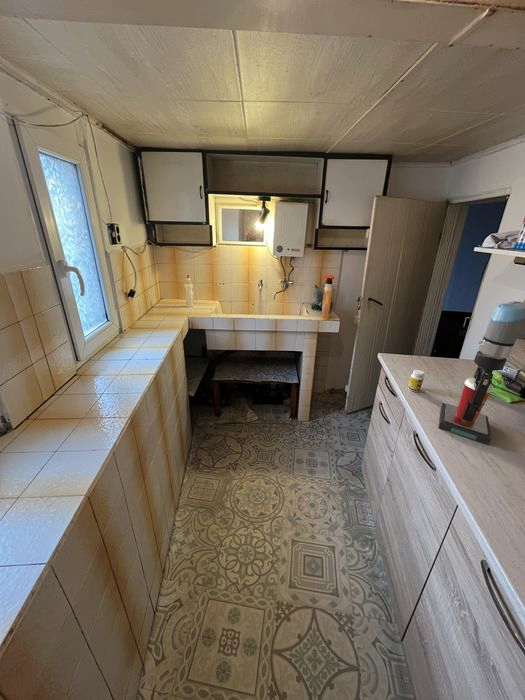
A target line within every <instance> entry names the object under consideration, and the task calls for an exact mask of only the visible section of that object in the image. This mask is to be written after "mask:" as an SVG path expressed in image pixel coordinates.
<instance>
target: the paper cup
mask: <svg viewBox="0 0 525 700" xmlns="http://www.w3.org/2000/svg"><path fill="white" fill-rule="evenodd" d="M475 380H476V379H475V378H473V377H468V378H467V379H466V380H465V381H464V387H463V390H462V393H461V396H460V400H459V402H458V406H457V407H458V409H457V412H456V416H457V417H458V418H459V419H461V420H463V419H462V417H463V415H464V412H465V410H466V408H467V405H468V404H467V401H468V402H470V400H471V397H472V395H473V392H474V390H475V388H476V387H475V386H476V384H475ZM478 382H479V381H478ZM493 391H494V387H493V384H492V383H491V384H490V386H489V388H488V390H487V392H486V395H485V397H484V400H483V402H482V404H481V407H480V408H478V409H477V411H476V414H475V416H474V418H473V421H472V422H475V420H476V418H477V417H478V415H479V413H480V414H481V411H482V409H483V408H484V406H485V404H486V402H487V400H488V398H489V397H490V394H491V393H493ZM463 421H465V422H469V421H466V420H463ZM472 422H469V423H472Z"/></svg>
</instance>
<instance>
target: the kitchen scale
mask: <svg viewBox="0 0 525 700" xmlns="http://www.w3.org/2000/svg"><path fill="white" fill-rule="evenodd" d="M457 409H458V406H457V405H454V404H451V403H447V402H446V403H445V402H442V403H441V407H440V411H439V419H438V426H437V427H438V429H440V430H442V431H445V432H448V433H452V434H455V435H457V436H460V437H463V438H466V439H469V440H472V441H475V442H478V443H480V444H483V445H486V446H489V445H490V443H491V441H492V437H491V436H492V435H491V429H490V421H489V416H488V415H486V414H484V413H481V412H480V413H479V415H478V417H477V418H476V420H475V422H472V423H469V422H465V421H463V420H461V419H459V418H458V417H457V416H456V412H457Z"/></svg>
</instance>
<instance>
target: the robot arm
mask: <svg viewBox="0 0 525 700" xmlns="http://www.w3.org/2000/svg"><path fill="white" fill-rule="evenodd" d="M517 340H524V341H525V300H524V301H520V300H519V301H516V300H513V301H512V300H511V301H508V302H506V303H499V304H498V305H497V306H496V307H495V308H494V310H493V312H492V314H491V316H490V317H489V321H488V325H487V326H486V330H485V332H484V335H483V337H482V340H479V341H478V344H479V347H478V351H477V352H476V354H475V356H474V359H473V362H474V364H475V365H476V366H477V368H476V370H475V371H476V373H475V372H474V373H475V375H474V374H473V376H472V378H475V379H476V380H475V384H476V386H475V387H476V388H475V390H474V392H473V395H472V397H471V400H470V402H468V401H467V404H468V405H467V408H466V410H465V412H464V415H463V417H462V419H463V420H466V421H469V422H472V421H473V418H474V416H475V414H476V411H477V409H478V408H480V407H481V404H482V402H483V400H484V397H485V395H486V392H487V390H488V388H489V386H490V384H492V383H493V381H492V379H493V377H494V373H493V372H494V371H502V370H503V369H504V367H505V365H506V363H507V362H508V358H510V355H511V353H512V351H513V348H514V346H515V343H516V342H517ZM478 381H479V382H478Z"/></svg>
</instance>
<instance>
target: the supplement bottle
mask: <svg viewBox="0 0 525 700" xmlns="http://www.w3.org/2000/svg"><path fill="white" fill-rule="evenodd" d="M424 379H425V372H424V371H423V370H420V369H414V370H413V372H412V374H411V375H410V378H409V381H408V385H407V389H408V390H409V391H411V392H414V393H419V392H420V391H421V389H422V386H423V381H424Z"/></svg>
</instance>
